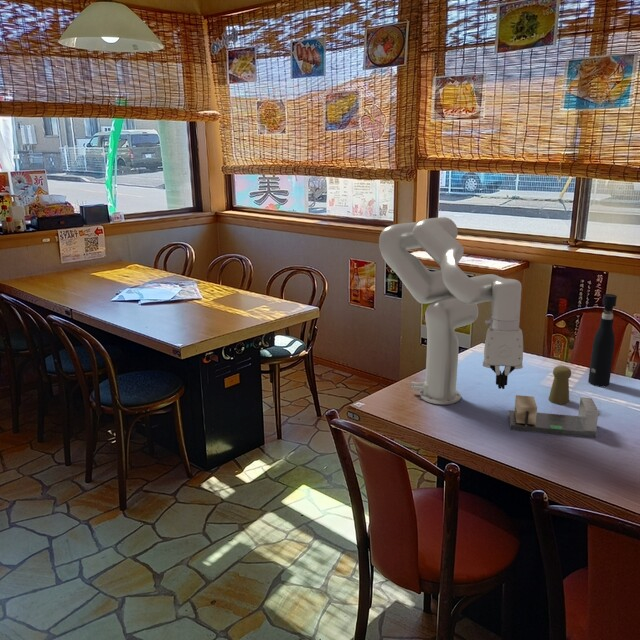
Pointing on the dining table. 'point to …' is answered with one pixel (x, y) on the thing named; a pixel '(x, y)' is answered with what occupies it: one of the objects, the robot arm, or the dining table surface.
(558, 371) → the olive brown pawn
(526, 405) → the block
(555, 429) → the gauge rail
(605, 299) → the black water bottle
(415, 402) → the dining table surface
